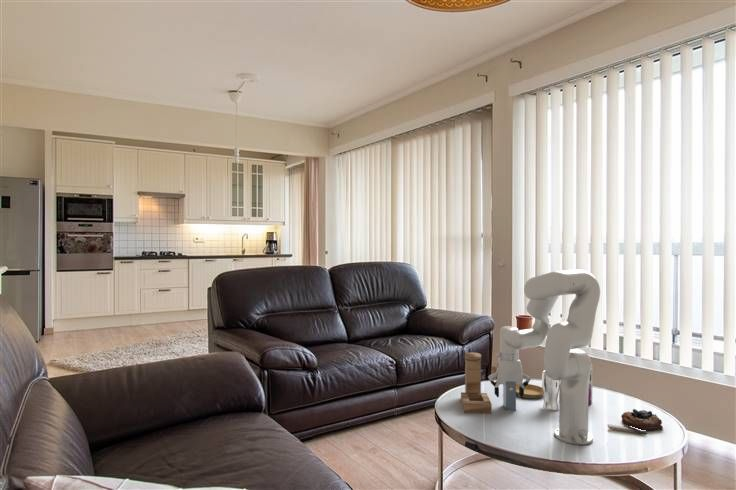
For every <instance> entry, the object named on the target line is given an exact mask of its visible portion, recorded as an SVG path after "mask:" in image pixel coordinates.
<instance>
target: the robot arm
mask: <svg viewBox="0 0 736 490" xmlns="http://www.w3.org/2000/svg"><path fill="white" fill-rule="evenodd" d="M523 292H524V293H523V294H524V295H525V297H526V298H527V299H529V301H528V303H527V305H526V312H527V313H528V314H529V315H530V316H531V317H532V318H534V319H535V320H534V322H533V324H532V326H531V328H525V329H519V328H518V327H516V326H512V325H504V326H502V327H501V328H500V329H499V333H500V334H499V352H497V353H496V355H495V356H496V357H498V360H497V364H496V371H495V372H494V373H491V374H489V375H488V376H487V378H488V379H489V382H490V384H491V385H492V386H493V387H494V395H495V396H496V398H499V397H500V388H499V386H500V385H503V384H505V385H506V382H516V385H520V387H519V396H518V397H519V398H521V399H523V398H524V397H523V395H524V388H525V387H526V386H527V385H528V384H530V381H531V379H532V378H531V377H530V376H529V375H526V374H525V373H523V366H522V365H523V364H522V361H521V359H520V354H519V353H520V350H526V349H530V348H537V347H539V346H541V345H542V344H543V343H544V341H545V345H544V353H543V360H542V362H543V363H542V365H543V366H542V367H543V371H545V373H546V375H547V376H548V377H549V378H551V379H553V380H560V386H559V393H558V399H559V400H558V410H559V411H558V412H559V413H558V417H559V418H558V419H559V420H558V425H559V426H558V428H556V429H555V430H554V437H556V439H558V440H559V441H562V442H565V443H567V444H571V445H576V446H577V445H580V446H585V445H590V444H591V443H593V442H594V437H593V435H592V434H591V433H590V432H589V405H588V387H589V378H590V373H591V365H592V360H591V358H590V357H591V356H589V354H588V353H587V352H585V351H584V350H583V349H582V348H585V347H588V346H589V345H590V344H591V342H592V338H593V333H594V326H595V322H596V321H595V320H596V314H597V309H598V305H599V302H600V298H601V297H600V295H601V287H600V284H599V282H598V280H597V278H596V277H595V275H593V274H592V273H591V272H589V271H586V270H584V269H568V270H555V271H551V272H548V273H544V274H540V275H538V276H537V275H536V276H534V277H531V278H529V279H528V280H526V282H525V284H524V287H523ZM567 295H575V297H574V299H573V300H572V302H571V303H570V306H569V309H568V314H567V315H568V316H567V319H566V321H563V322H557V323H555V324H553V325H552V326H551V327H550V319H549V315H550V313H551V311H552V309H553V308H554V306H555V304H556V302H557V300H558V299H559V296H567ZM545 339H546V340H545ZM493 378H495V379H496V381H494V379H493ZM524 379H525V380H524ZM523 380H524V381H523Z"/></svg>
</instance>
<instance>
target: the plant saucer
mask: <svg viewBox="0 0 736 490" xmlns="http://www.w3.org/2000/svg"><path fill="white" fill-rule="evenodd" d="M519 387H520V385H516V396H518V397H520V396H519ZM543 396H544V395H543V389H542V386H540V385H536V384H530V383H528V385H527V386H526V387H525V388H524V395H523V398H525V399H538V398H541V397H543Z"/></svg>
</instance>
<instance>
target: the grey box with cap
mask: <svg viewBox="0 0 736 490" xmlns="http://www.w3.org/2000/svg"><path fill="white" fill-rule="evenodd" d="M502 385H503V386H502V387H503V388H502V389H503V390H502V391H503V392H502V395H503V396H502V401H503V402H502V403H503V404H502V405H503V407H504V410H505V411H507V412H508V411H509V412H512V411H513V412H516V411H517V394H516V382H506V385H505V384H502Z"/></svg>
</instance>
